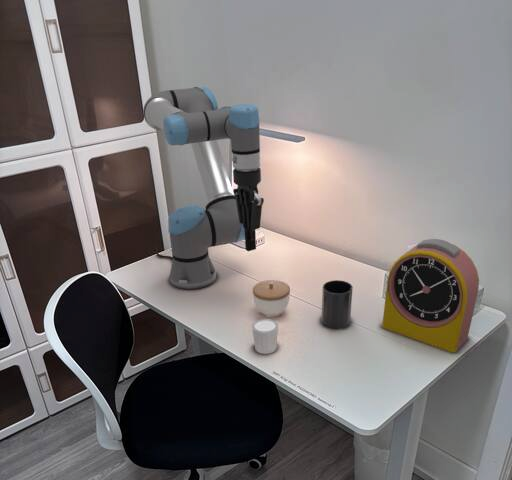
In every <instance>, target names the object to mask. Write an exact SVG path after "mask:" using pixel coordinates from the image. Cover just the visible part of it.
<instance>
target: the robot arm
mask: <svg viewBox="0 0 512 480" xmlns="http://www.w3.org/2000/svg"><path fill="white" fill-rule="evenodd" d="M142 111H143V113H142V114H143V117H144V120H145V122H146V124H147V125H148V126H149V127H150V128H152V129H153V130H156V131H159V132H160V131H161V132H163V133H164V137H165V140H166V142H167V144H168V145H170V146H184V145H190V144H191V145H190V146H191V148H192V151H193V155H194V158H195V161H196V165H197V168H198V172H199V175H200V178H201V179H200V180H201V181H202V185H203V189H204V192H205V196H206V198H207V203H206V204H205V205H204V206H205V209H204V208H203V206H200V205H188V206H183V207H179V208H177V209H176V210H174V211H173V212H172V213H170V214H169V216H168V219H167V223H168V224H167V226H168V229H167V231H168V234H169V241H170V248H171V254H172V256H169V255H163V254H159V251H158V248H154V252H155V254H156V256H157V257H159V258H162V259H163V258H164V259H170V260H172V262H171V267H170V272H169V280H170V281H169V282H170V284H171V285H172V286H173V287H175V288H178V289H182V290H197V289H201V288H205V287H208V286H210V285H211V284H213V283H214V282H215V281H216V279H217V271H216V269H215V267H214V264H213V261H212V259H211V258H210V255H209V248H211V247H219V246H223V245H224V246H225V245H228V244H234V243H235V244H237V243H239V242H243V241H244V245H245V246H244V247H245V251H247V252H251V251H254V250H257V243H256V242H257V241H256V239H257V237H256V235H257V234H256V230H258V229H260V228H261V221H262V220H261V219H262V211H263V205H264V202H265V199H264V197H260V196H259V189H258V185H259V184H261V181H262V169H261V168H260V167H261V165H262V164H261V161H262V160H261V140H260V139H261V138H260V137H261V136H260V123H261V121H260V115H259V109H258V106H257V105H255V104H249V103H240V104H239V103H238V104H234V105H232V106H228V105H224V106H220V107H219V104H218V101H217V98H216V96H215V94H214V92H213V91H212V90H211V89H210V88H208V87H205V86H194V87H190V88H179V89H171V90H170V89H166V90H161V91H159V92H156V93H154V94H153V95H152V96H150V97H149V98H148V99H147V101H145V104H144V106H143V109H142ZM228 139H229V140H230V146H231V147H230V148H231V161H232V168H233V170H232V177H233V178H232V179H233V183H234V184H235V185H237V188H233V189H232V185H231V181H230V179H229V174H228V171H227V168H226V165H225V162H224V159H223V155H222V152H221V148H220V145H219V142H218V140H219V141H220V140H228Z"/></svg>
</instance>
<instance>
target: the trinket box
mask: <svg viewBox="0 0 512 480" xmlns="http://www.w3.org/2000/svg"><path fill="white" fill-rule="evenodd" d="M290 292H291V287H290V285H289V284H288V283H287V282H284V281H281V280H276V279H268V280H262V281H259V282H257V283H256V284H255V285H254V286H253V287H252V294H253V295H252V296H253V302H254V306H255V307H256V309H257V311H258V312H260V313H261V314H262V315H263V316H265V317H268V318H275V317H279V316H281V315H282V314H283V312H284V311H286V309H287V307H288V306H289V302H290V294H291V293H290Z"/></svg>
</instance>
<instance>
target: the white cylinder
mask: <svg viewBox="0 0 512 480" xmlns="http://www.w3.org/2000/svg"><path fill="white" fill-rule="evenodd" d="M251 330H252V337H253V342H254V349H255V351H256V352H257V353H259V354H263V355H269V354H272V353H274V352H275V351H276V350H277V345H278V335H279V334H278V333H279V323H277V321H276V320H273V319H269V318H261V319H257V320H256V321H254V322H253V323H252V324H251Z"/></svg>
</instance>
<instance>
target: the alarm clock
mask: <svg viewBox="0 0 512 480" xmlns="http://www.w3.org/2000/svg"><path fill="white" fill-rule="evenodd" d="M479 286H480V277H479V273H478V269H477V267H476V265H475V263H474V261H473V260H472V258H471V257H470V256H469V255H468V254H467V253H466V252H465V251H464V250H463V249H462V248H460V247H458V246H457V245H455V244H453V243H451V242H449V241H446V240H443V239H440V238H429V239H423V240H422V241H420V242H418V243H417V244H416V245H415V246H413V247H412V248H411V249H409V250H408V251H406V252H405V253H403V254H402V255H401V256H400V257H399V258H397V259H396V261H395V262H393V264H392V266H391V268H390V270H389V272H388V275H387V281H386V289H385V299H384V307H383V316H382V325H381V327H382V329H385V330H388V331H391V332H393V333H396V334H399V335H401V336H405V337H407V338H410V339H413V340H416V341H419V342H421V343H425V344H426V345H429V346H433V347H436V348H438V349H441V350H444V351H446V352H449V353H456V352H458V350H459V349H460V348H461V347H462V346H463V345H464V344H465V343H466V341H467V340H468V338H469V333H470V329H471V325H472V321H473V320H472V319H473V316H474V310H475V306H476V304H477V297H478V294H479V293H478V292H479Z"/></svg>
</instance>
